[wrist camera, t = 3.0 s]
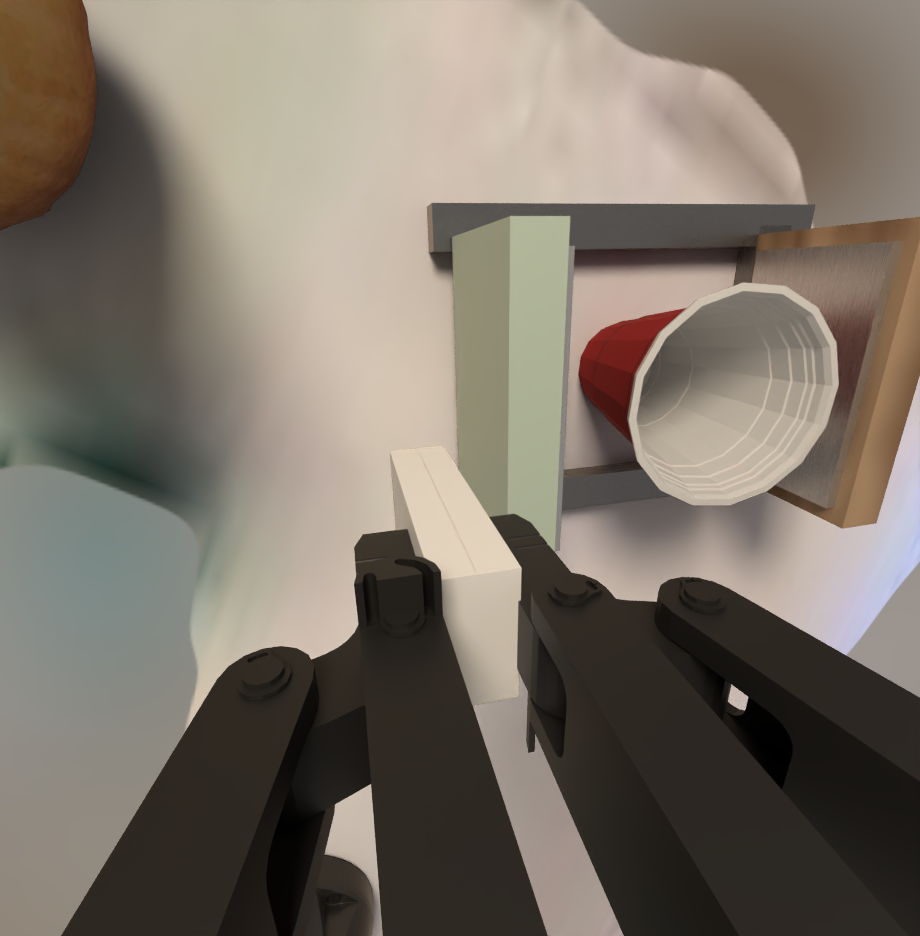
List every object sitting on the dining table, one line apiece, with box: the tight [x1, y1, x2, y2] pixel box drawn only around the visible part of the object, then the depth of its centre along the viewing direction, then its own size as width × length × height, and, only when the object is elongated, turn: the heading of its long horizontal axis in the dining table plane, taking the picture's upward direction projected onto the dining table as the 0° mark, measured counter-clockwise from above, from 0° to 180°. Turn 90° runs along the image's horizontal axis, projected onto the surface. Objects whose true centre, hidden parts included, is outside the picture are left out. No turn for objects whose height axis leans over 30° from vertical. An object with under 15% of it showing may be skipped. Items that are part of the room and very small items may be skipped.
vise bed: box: [427, 203, 920, 529], centre depth 30 cm, size 25×19×12 cm
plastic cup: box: [579, 282, 839, 505], centre depth 29 cm, size 11×11×12 cm
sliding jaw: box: [452, 216, 575, 552], centre depth 27 cm, size 3×16×10 cm, turn 1°
